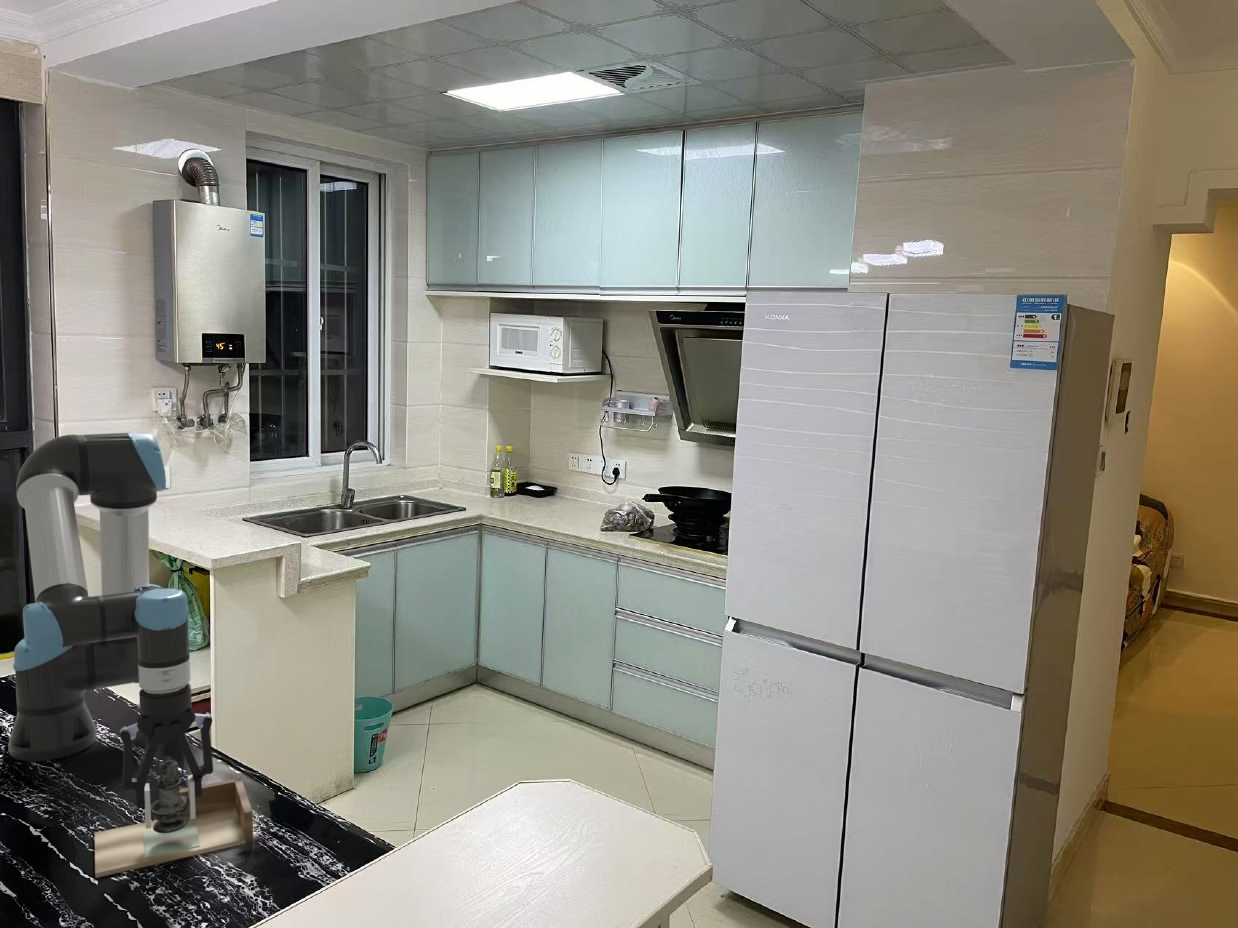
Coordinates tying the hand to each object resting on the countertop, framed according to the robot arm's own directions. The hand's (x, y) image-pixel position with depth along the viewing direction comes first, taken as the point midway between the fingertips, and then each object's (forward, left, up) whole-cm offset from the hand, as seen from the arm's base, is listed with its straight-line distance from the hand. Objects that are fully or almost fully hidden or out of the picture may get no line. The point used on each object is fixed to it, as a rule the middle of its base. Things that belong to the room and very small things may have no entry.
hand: (170, 819), depth 152 cm
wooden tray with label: (-2, 0, -4) cm, 5 cm away
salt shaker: (0, 0, -1) cm, 1 cm away
